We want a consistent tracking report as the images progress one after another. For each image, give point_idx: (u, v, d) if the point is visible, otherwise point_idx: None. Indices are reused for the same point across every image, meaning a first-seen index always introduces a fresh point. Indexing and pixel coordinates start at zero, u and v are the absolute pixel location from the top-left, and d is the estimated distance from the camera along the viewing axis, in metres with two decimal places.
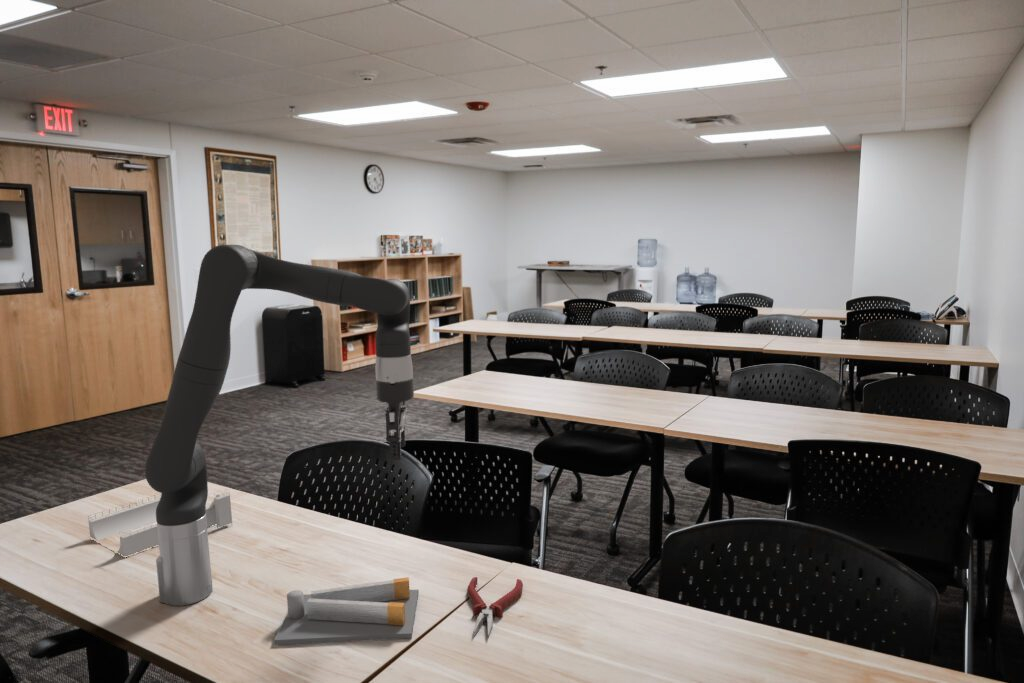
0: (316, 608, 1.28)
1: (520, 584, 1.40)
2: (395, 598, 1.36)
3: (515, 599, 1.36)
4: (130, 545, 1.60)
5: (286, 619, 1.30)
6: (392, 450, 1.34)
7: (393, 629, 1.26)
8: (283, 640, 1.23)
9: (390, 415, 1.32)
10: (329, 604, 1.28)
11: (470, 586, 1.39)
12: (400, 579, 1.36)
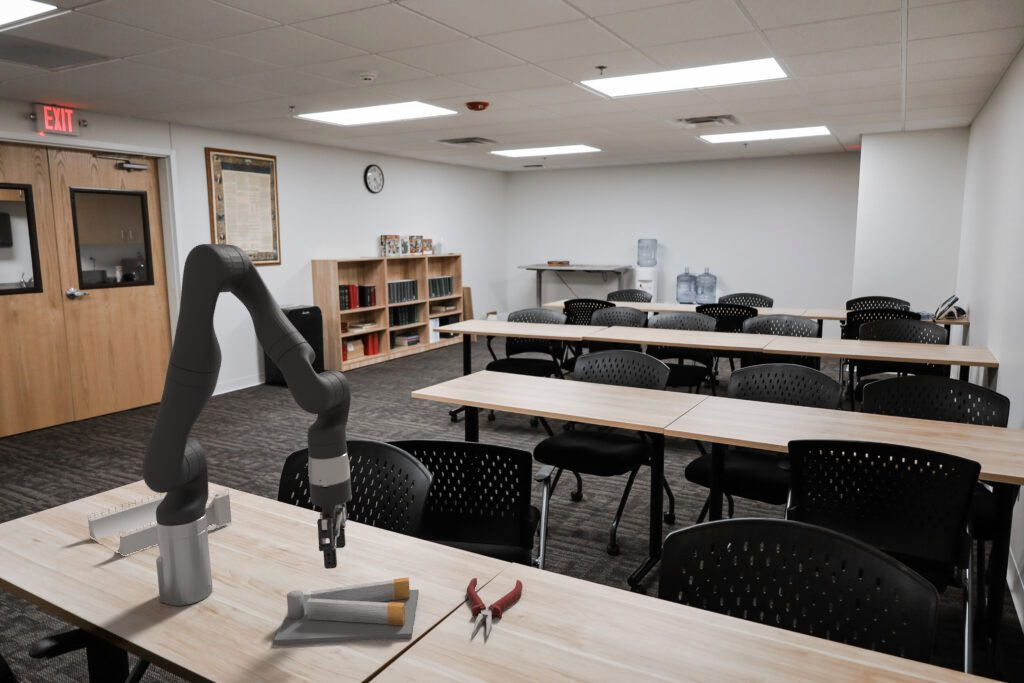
0: (316, 608, 1.28)
1: (520, 585, 1.40)
2: (395, 598, 1.36)
3: (514, 600, 1.36)
4: (130, 544, 1.60)
5: (286, 619, 1.30)
6: (326, 558, 1.24)
7: (393, 629, 1.26)
8: (283, 640, 1.23)
9: (322, 523, 1.22)
10: (329, 604, 1.28)
11: (469, 587, 1.39)
12: (400, 579, 1.36)
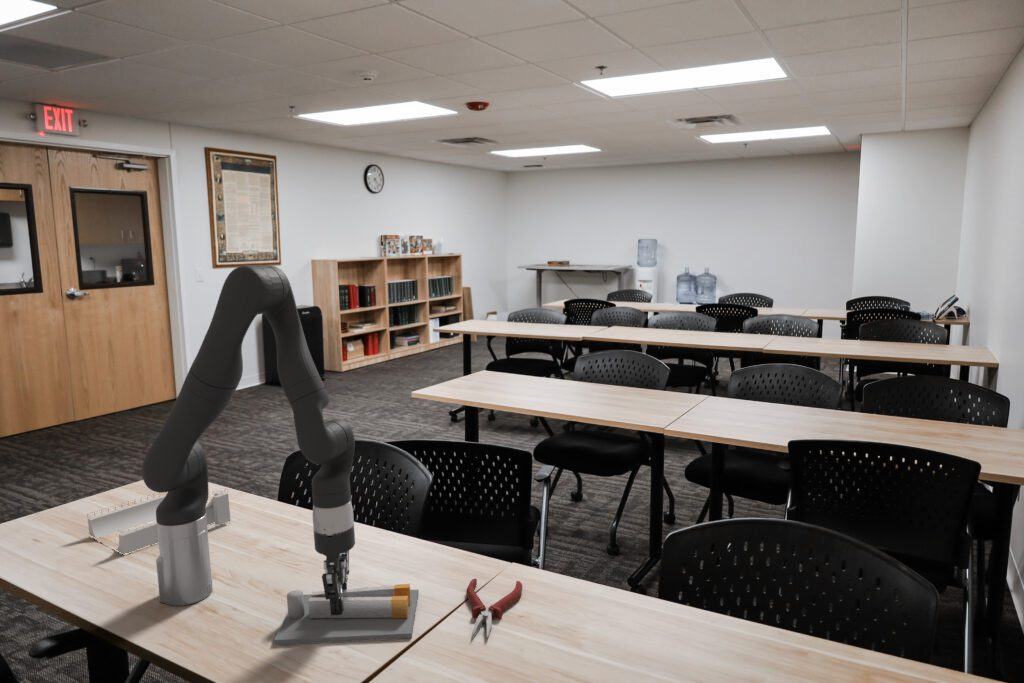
0: (318, 606, 1.29)
1: (520, 586, 1.39)
2: None
3: (514, 601, 1.36)
4: (129, 543, 1.61)
5: (286, 619, 1.30)
6: (333, 606, 1.27)
7: (393, 629, 1.26)
8: (283, 640, 1.23)
9: (327, 579, 1.23)
10: None
11: (469, 588, 1.39)
12: (401, 585, 1.34)
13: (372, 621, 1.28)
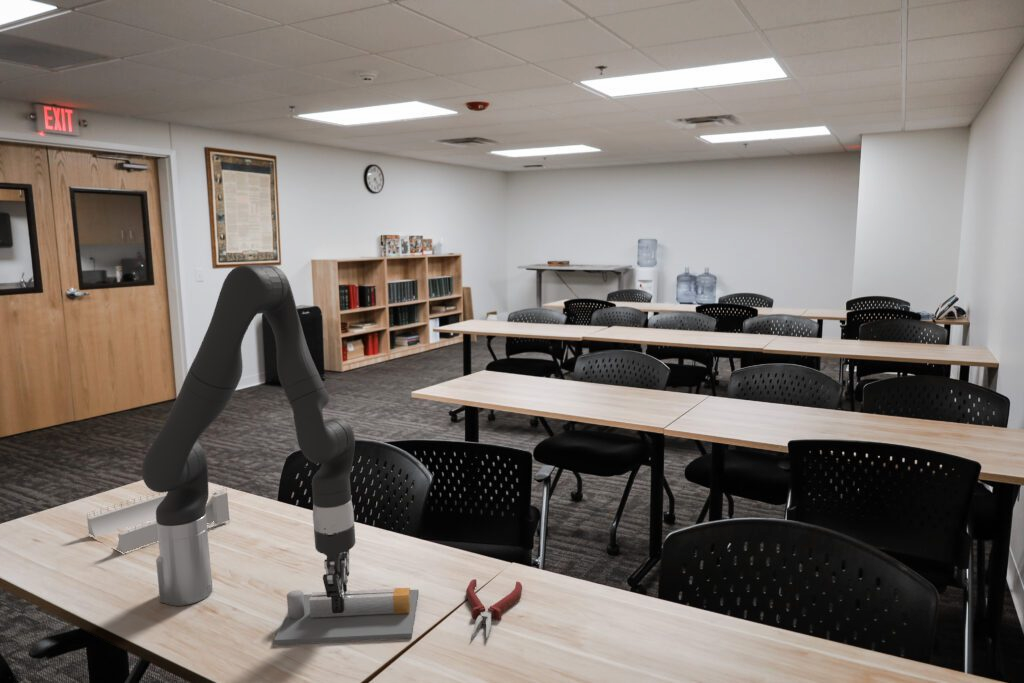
0: (319, 605, 1.29)
1: (519, 586, 1.39)
2: None
3: (514, 602, 1.35)
4: (129, 542, 1.62)
5: (286, 619, 1.30)
6: (334, 604, 1.28)
7: (393, 629, 1.26)
8: (283, 640, 1.23)
9: (328, 580, 1.23)
10: None
11: (469, 588, 1.38)
12: (401, 589, 1.32)
13: (372, 621, 1.28)
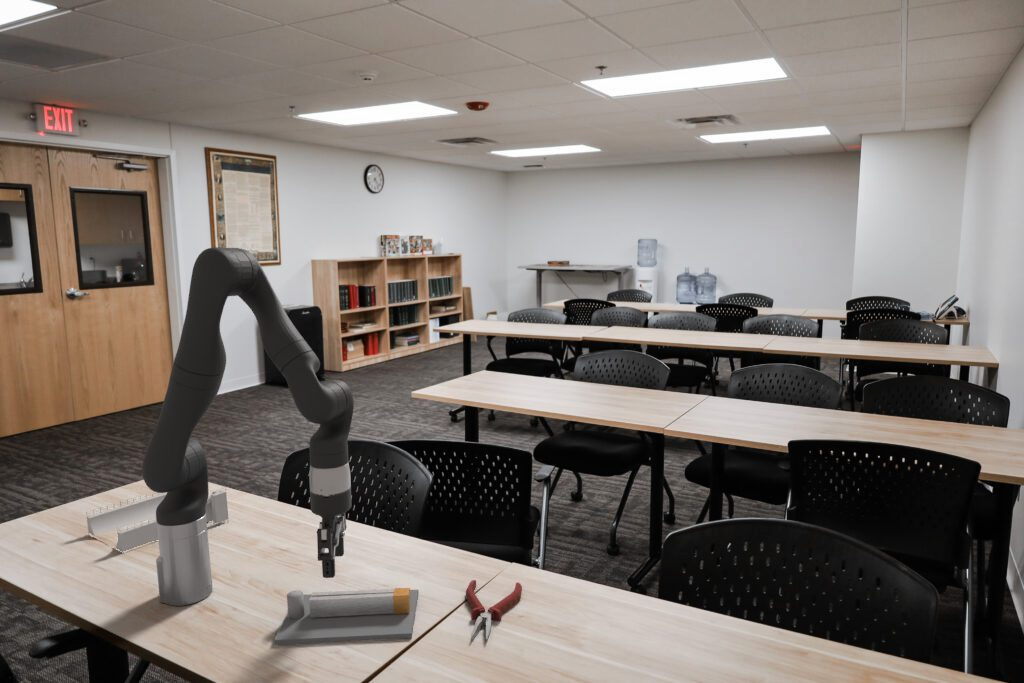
0: (319, 605, 1.29)
1: (519, 587, 1.39)
2: None
3: (514, 603, 1.35)
4: (128, 541, 1.62)
5: (286, 619, 1.30)
6: (325, 568, 1.24)
7: (393, 629, 1.26)
8: (283, 640, 1.23)
9: (322, 533, 1.22)
10: (332, 600, 1.29)
11: (469, 589, 1.38)
12: (401, 589, 1.32)
13: (372, 621, 1.28)
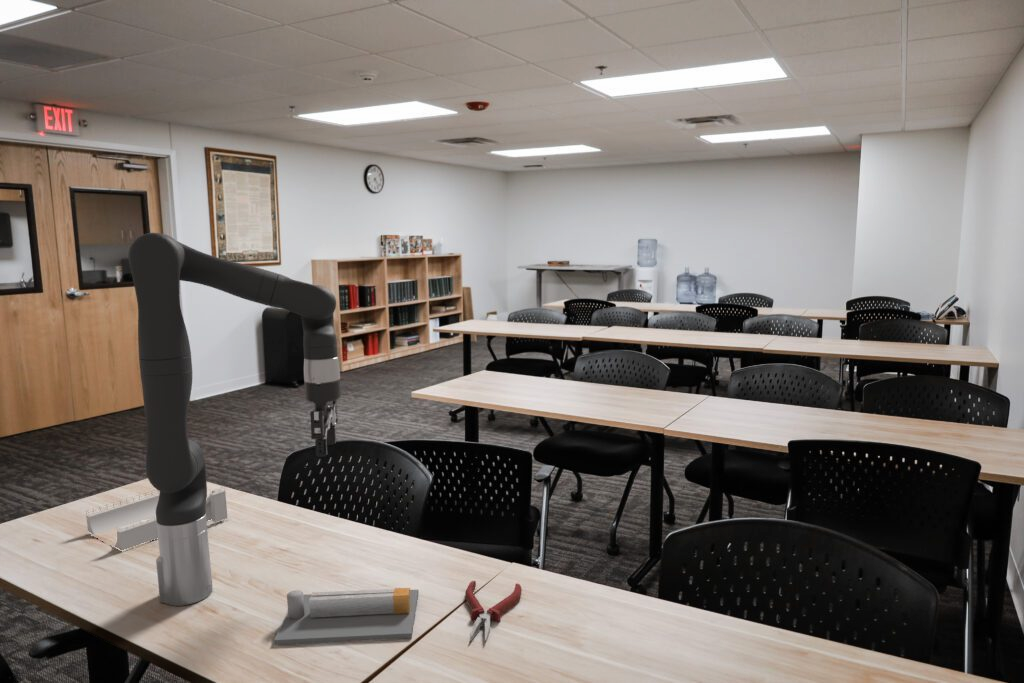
0: (319, 605, 1.29)
1: (519, 588, 1.38)
2: None
3: (513, 604, 1.35)
4: (127, 540, 1.63)
5: (286, 619, 1.30)
6: (318, 447, 1.42)
7: (393, 629, 1.26)
8: (283, 640, 1.23)
9: (314, 414, 1.40)
10: (332, 600, 1.29)
11: (468, 590, 1.38)
12: (401, 589, 1.32)
13: (372, 621, 1.28)
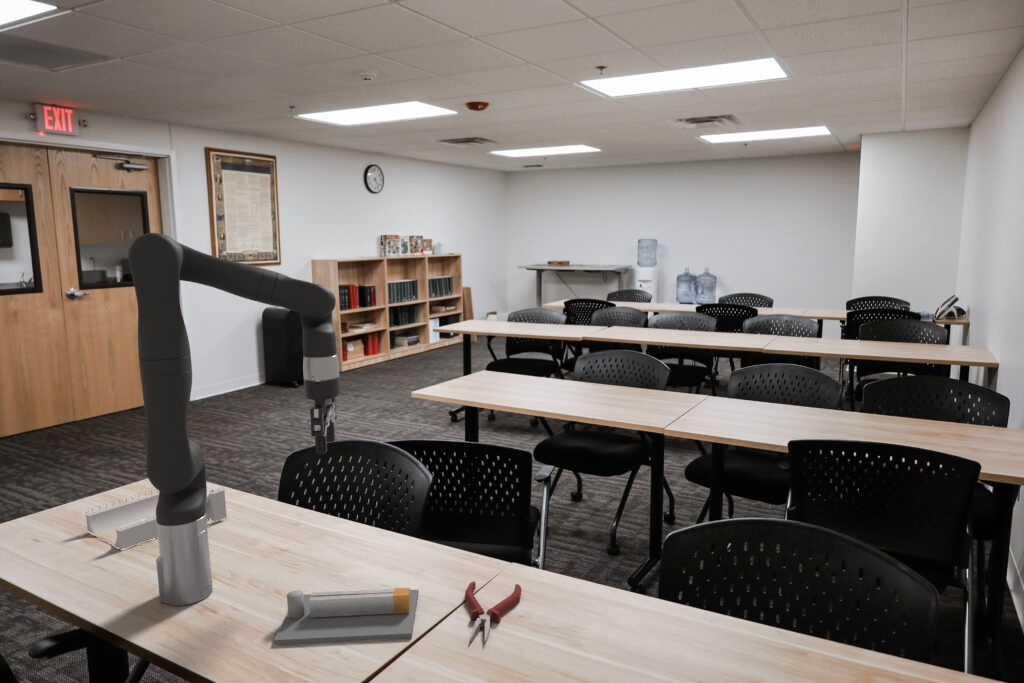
0: (319, 605, 1.29)
1: (518, 589, 1.38)
2: None
3: (513, 604, 1.34)
4: (127, 539, 1.64)
5: (286, 619, 1.30)
6: (318, 444, 1.43)
7: (393, 629, 1.26)
8: (283, 640, 1.23)
9: (314, 411, 1.41)
10: (332, 600, 1.29)
11: (468, 591, 1.37)
12: (401, 589, 1.32)
13: (372, 621, 1.28)
